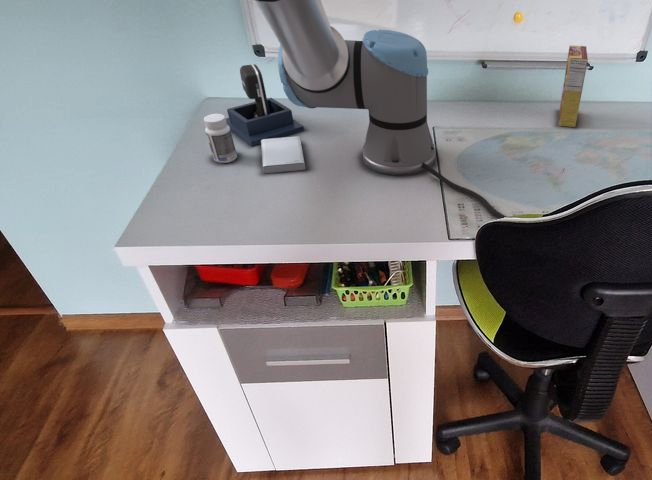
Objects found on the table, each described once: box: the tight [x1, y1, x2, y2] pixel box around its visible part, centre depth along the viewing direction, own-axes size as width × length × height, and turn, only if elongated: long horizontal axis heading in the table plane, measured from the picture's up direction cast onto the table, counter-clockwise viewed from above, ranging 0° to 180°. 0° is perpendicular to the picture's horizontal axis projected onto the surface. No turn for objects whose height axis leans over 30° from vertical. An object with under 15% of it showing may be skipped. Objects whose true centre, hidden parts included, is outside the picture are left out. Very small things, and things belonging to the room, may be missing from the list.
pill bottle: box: [203, 113, 238, 164], centre depth 109 cm, size 5×5×8 cm
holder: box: [225, 97, 305, 147], centre depth 121 cm, size 14×13×4 cm
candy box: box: [558, 44, 589, 128], centre depth 126 cm, size 9×4×15 cm, turn 171°
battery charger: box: [239, 63, 270, 118], centre depth 117 cm, size 7×4×11 cm, turn 26°
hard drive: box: [260, 136, 306, 174], centre depth 112 cm, size 2×8×12 cm
